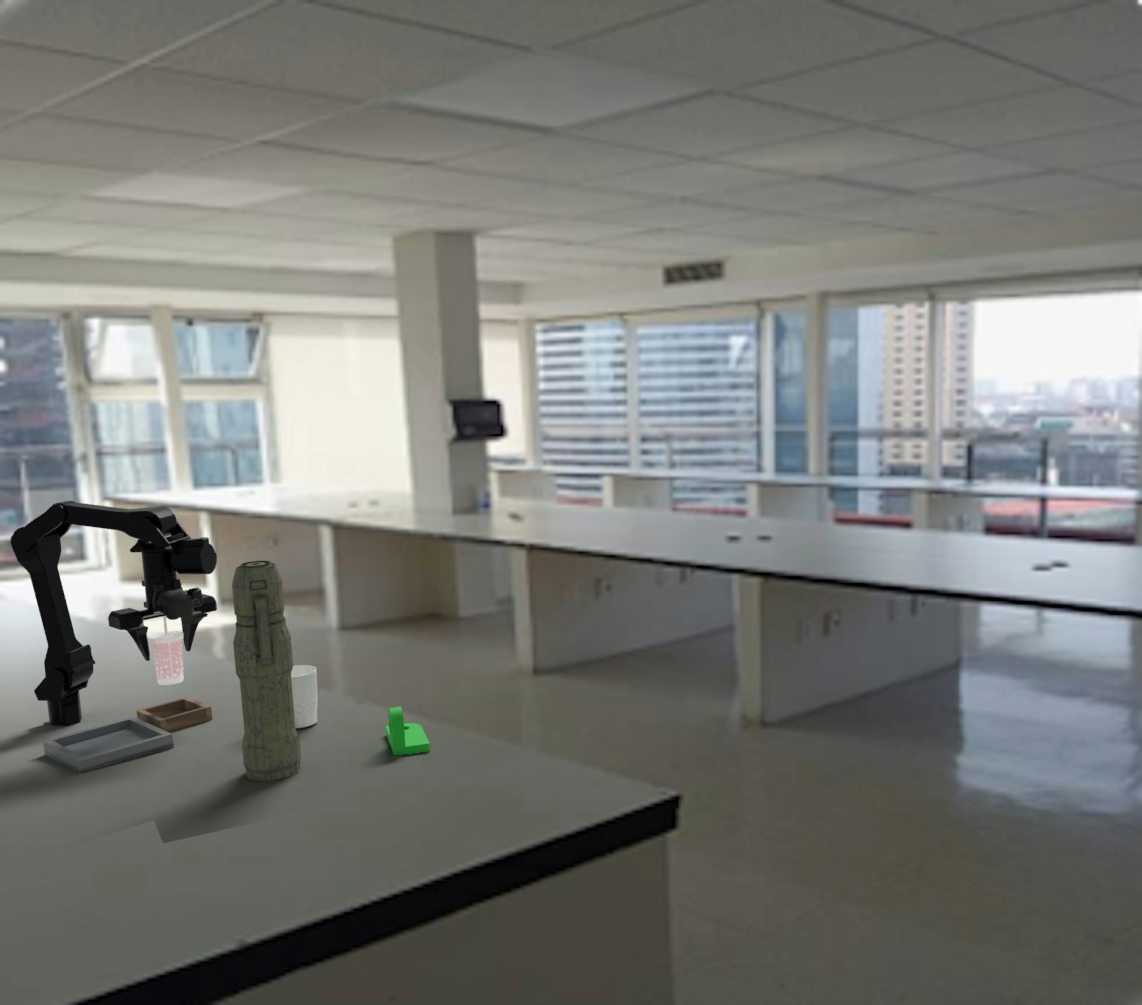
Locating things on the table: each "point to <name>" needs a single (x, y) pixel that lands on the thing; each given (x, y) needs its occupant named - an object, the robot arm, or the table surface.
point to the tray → (107, 744)
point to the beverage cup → (168, 656)
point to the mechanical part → (405, 734)
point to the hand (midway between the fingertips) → (168, 655)
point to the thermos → (264, 673)
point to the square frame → (191, 708)
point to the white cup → (304, 695)
